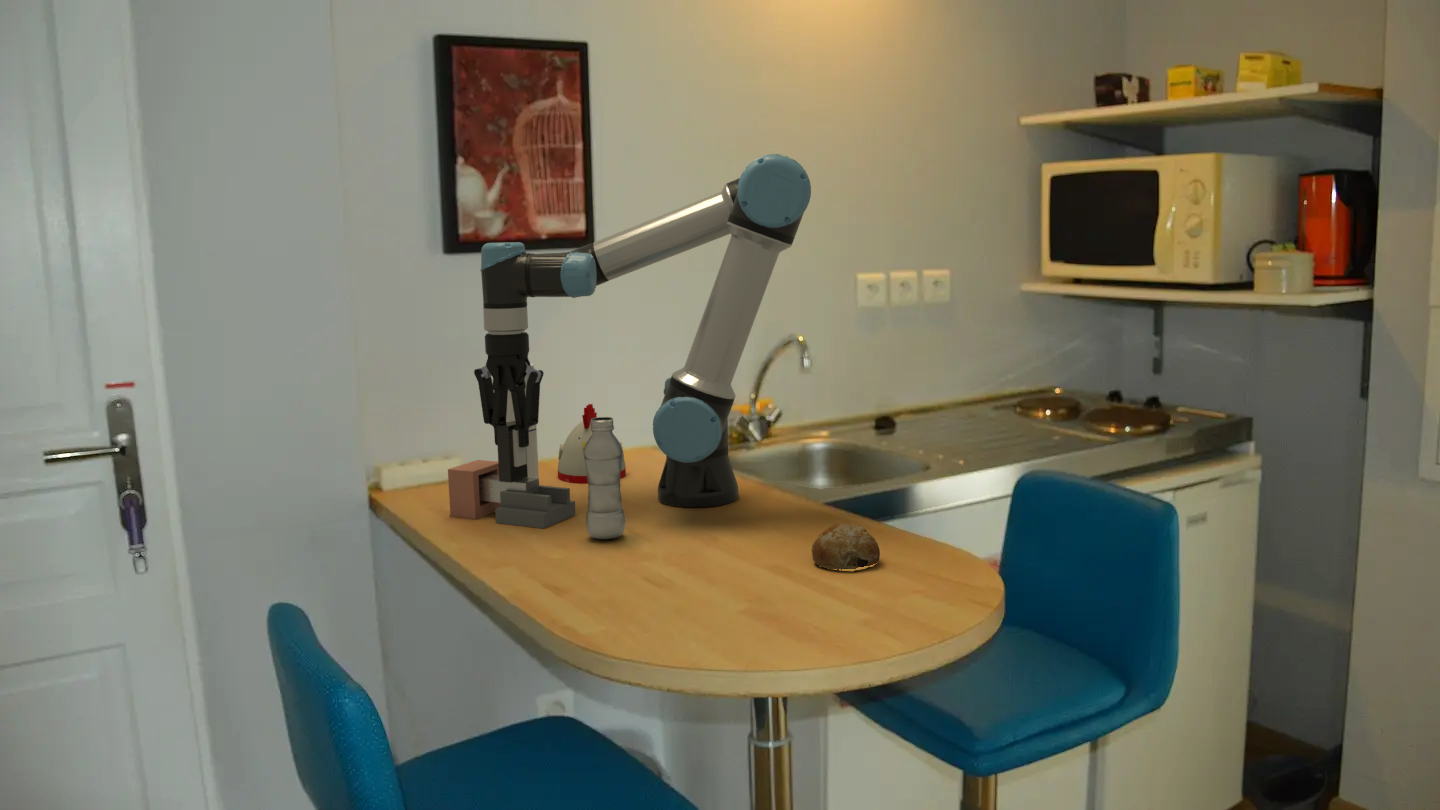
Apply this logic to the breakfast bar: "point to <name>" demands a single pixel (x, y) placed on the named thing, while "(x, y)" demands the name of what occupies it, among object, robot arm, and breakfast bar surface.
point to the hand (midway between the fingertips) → (512, 464)
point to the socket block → (470, 489)
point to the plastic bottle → (604, 481)
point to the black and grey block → (506, 470)
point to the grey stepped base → (535, 507)
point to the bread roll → (845, 547)
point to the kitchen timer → (578, 451)
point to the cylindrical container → (532, 447)
